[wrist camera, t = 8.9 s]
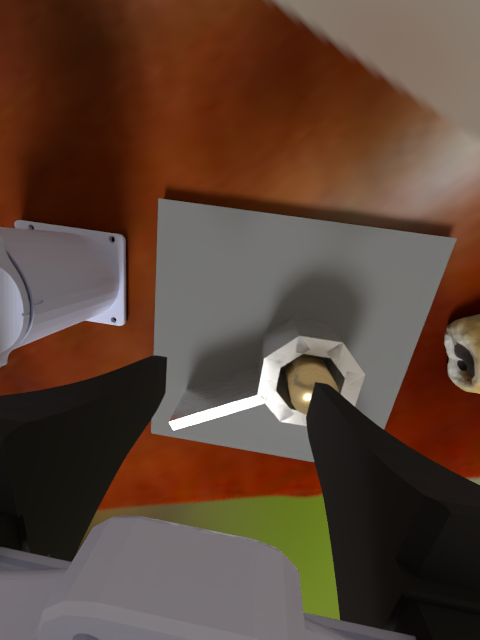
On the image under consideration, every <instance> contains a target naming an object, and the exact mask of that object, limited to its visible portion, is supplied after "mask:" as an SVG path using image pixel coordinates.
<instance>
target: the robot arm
mask: <svg viewBox="0 0 480 640" xmlns="http://www.w3.org/2000/svg"><path fill="white" fill-rule="evenodd" d="M32 227H34V230H33V228H32ZM112 237H114V238H115V242H112ZM113 318H116V321H114V319H113ZM84 320H86V321H92V322H99V323H105V324H111V325H117V326H122V325H124V324H125V323H126V240H125V237H124V236H123V235H121V234H115V233H108V232H101V231H94V230H87V229H80V228H73V227H66V226H59V225H52V224H45V223H38V222H31V221H24V220H17V221H16V222H15V228H5V227H0V367H1V366H3V365H6V364H7V358H8V355H9V353H10V351H11V350H13V349H15V348H18V347H20V346H23V345H25V344H28V343H30V342H33V341H35V340H37V339H40V338H42V337H45V336H47V335H50V334H52V333H55V332H57V331H60V330H62V329H65V328H67V327H69V326H72V325H74V324H77V323H79V322H82V321H84ZM166 372H167V357H163V356H157V355H154V356H151V357H148V358H145V359H143V360H140V361H138V362H135V363H133V364H130V365H127V366H125V367H122V368H120V369H117V370H114V371H111V372H109V373H106V374H103V375H100V376H97V377H94V378H91V379H87V380H84V381H80V382H76V383H73V384H68V385H64V386H59V387H54V388H49V389H44V390H39V391H33V392H26V393H19V394H12V395H4V396H0V640H480V485H478V484H476V483H474V482H472V481H470V480H468V479H466V478H464V477H462V476H460V475H458V474H456V473H454V472H452V471H450V470H448V469H447V468H445V467H443V466H441V465H439V464H437V463H436V462H434V461H432V460H430V459H429V458H427V457H425V456H423V455H422V454H420V453H418V452H417V451H415V450H413V449H412V448H410V447H409V446H407V445H405V444H404V443H402V442H401V441H399V440H398V439H396V438H395V437H393V436H392V435H391V434H389V433H388V432H386V431H385V430H383V429H382V428H381V427H379V426H378V425H377V424H376V423H374V422H373V421H372V420H370V419H369V418H368V417H367V416H365V415H364V414H363V413H362V412H360V411H359V410H358V409H357V408H356V407H355V406H353V405H352V404H351V403H350V402H349V401H348V400H347V399H345V398H344V397H343V396H342V395H341V394H340V393H339V392H337V391H336V390H335V389H334V388H333V387H331V386H330V385H329V384H324V383H318V382H315V385H314V389H313V392H312V396H311V400H310V404H309V408H308V412H307V416H306V424H307V432H308V439H309V443H310V447H311V450H312V454H313V458H314V462H315V466H316V469H317V473H318V477H319V481H320V484H321V488H322V493H323V497H324V503H325V509H326V515H327V521H328V527H329V534H330V541H331V547H332V555H333V562H334V570H335V578H336V586H337V594H338V603H339V612H340V620H337V619H332V618H328V617H323V616H318V615H314V614H309V613H304V612H303V605H302V596H301V586H300V578H299V570H298V569H297V568H296V567H295V566H294V565H293V563H291V561H290V560H289V559H288V558H287V557H286V556H285V555H284V554H283V553H282V552H281V551H280V550H279V549H278V548H275V547H273V546H270V545H268V544H265V543H263V542H261V541H258V540H255V539H251V538H246V537H241V536H236V535H231V534H226V533H221V532H217V531H212V530H207V529H201V528H197V527H192V526H187V525H182V524H177V523H172V522H167V521H162V520H157V519H153V518H147V517H143V516H115V517H112V518H110V519H108V520H106V521H104V522H102V523H100V524H99V525H97V526H95V527H93V529H92V530H91V532H90V534H89V535H88V537H87V538H86V540H85V542H84V543H83V545H82V547H81V548H80V550H79V552H78V553H77V555H76V556H75V554H76V552H77V549H78V547H79V545H80V543H81V541H82V539H83V537H84V535H85V533H86V531H87V529H88V527H89V525H90V523H91V521H92V519H93V517H94V515H95V513H96V511H97V509H98V507H99V505H100V503H101V501H102V499H103V497H104V495H105V494H106V492H107V490H108V488H109V486H110V484H111V482H112V480H113V479H114V477H115V475H116V473H117V471H118V469H119V468H120V466H121V464H122V462H123V460H124V459H125V457H126V456H127V454H128V452H129V451H130V449H131V448H132V446H133V445H134V444H135V442H136V441H137V439H138V438H139V436H140V435H141V433H142V432H143V430H144V429H145V428H146V426H147V425H148V423H149V422H150V420H151V419H152V417H153V416H154V414H155V413H156V411H157V409H158V407H159V406H160V404H161V402H162V399H163V397H164V395H165V393H166ZM74 556H75V558H74ZM73 558H74V560H73ZM72 560H73V561H72Z"/></svg>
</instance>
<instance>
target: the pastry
mask: <svg viewBox="0 0 480 640" xmlns="http://www.w3.org/2000/svg"><path fill="white" fill-rule="evenodd" d="M444 345H445V347H446V352H447V354H448V357H449V361H448V375H449V377H450V379H451V380H452V381H453V383H454V384H456V385H457V386H458V387H460V388H461V389H463V390H465V391H467V392H474V393H479V394H480V314H478V315H474V316H470V317H464V318H461V319H457V320H455V321H454V322H452V323H451V324H449V325H448V326H447V332H446V333H445V338H444Z"/></svg>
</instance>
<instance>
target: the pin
mask: <svg viewBox="0 0 480 640" xmlns="http://www.w3.org/2000/svg"><path fill="white" fill-rule="evenodd" d="M284 367H285V372H286V377H287V382H288V387H289V393H290V398H291V402H292V404H293V406H294V407H295V408H296V409H297V410H298V411H299V412H301V413H302V414H305V415H307V412H308V408H309V404H310V400H311V396H312V392H313V389H314V385H315V382H318V383H324V384H329V385H330V386H331V387H333V388H334V389H335V390H336V391H337V392H339V389H338V387H337V385H336V383H335V381H334V379H333V378H332V376H331V374H330V372H329V370H328V369H327V367H326V365H325V363H324V361H323V359H322V358H321V356H314V355H308V354H302V355H300V356H299V357H297V358H295V359H294V360H292V361H291V362H289V363H287V364H286V365H284Z"/></svg>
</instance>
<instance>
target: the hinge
mask: <svg viewBox="0 0 480 640" xmlns="http://www.w3.org/2000/svg"><path fill="white" fill-rule="evenodd" d="M302 354H308V355H314V356H321V357H326V360H325V365H326V367H327V369H328V370H329V372H330V374H331V376H332V378H333V379H334V381H335V383H336V385H337V387H338V389H339V393H340V394H341V395H342V396H343V397H344V398H345V399H347V400H348V401H349V402H350V403H351V404H352V405H353V406H355V405H356V402H357V399H358V396H359V393H360V389H361V386H362V383H363V380H364V377H365V373H364V372H363V371H362V369H361V368H360V366H359V365H358V364H357V362H356V361H355V359H354V358H353V356H352V355H351V353H350V352H349V351H348V349H347V348H346V346H345V345H344V343H343V341H342V340H341V339H340V338H339V337H338V336H337V334H336V333H335V332H334V331H333V330H332V329H331V328H330V326H329V325H328V324H327V323H326V322H321V321H314V320H308V319H301V318H295V317H291V318H289V319H288V320H286V321H285V322H283V323H282V324H280V325H279V326H277V327H276V328H274V329H273V330H271V331H270V332H268V333H267V334H265V335H264V336H263V342H262V348H261V353H260V359H259V364H258V366H256V367H253V368H250V369H247V370H244V371H241V372H238V373H235V374H232V375H228V376H225V377H222V378H219V379H216V380H213V381H210V382H207V383H204V384H201V385H198V386H195V387H192V388H189V389H186V391H185V393H184V395H183V396H182V398H181V400H180V402H179V404H178V406H177V408H176V409H175V411H174V413H173V415H172V417H171V419H170V421H169V423H170V425H171V427H172V429H173V430H176V429H179V428H182V427H186V426H189V425H193V424H196V423H199V422H203V421H206V420H210V419H213V418H216V417H220V416H223V415H227V414H230V413H233V412H237V411H240V410H244V409H247V408H250V407H254V406H257V405H261V404H264V403H265V404H266V405H267V406H268V407H269V408H270V410H271V411H272V412H273V413H274V415H275V416H276V417H277V418H278V419H279V421H280V422H285V423H291V424H296V425H302V426H307V424H306V416H307V415H305V414H302V413H301V412H299V411H298V410H297V409H296V408H295V407H294V406H293V404H292V402H291V398H290V393H289V387H288V382H287V377H284V376H283V374H282V373H281V372H280V368H281V367H282V366H284V365H286V364H287V363H289V362H291V361H292V360H294V359H295V358H297V357H299V356H300V355H302Z"/></svg>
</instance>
